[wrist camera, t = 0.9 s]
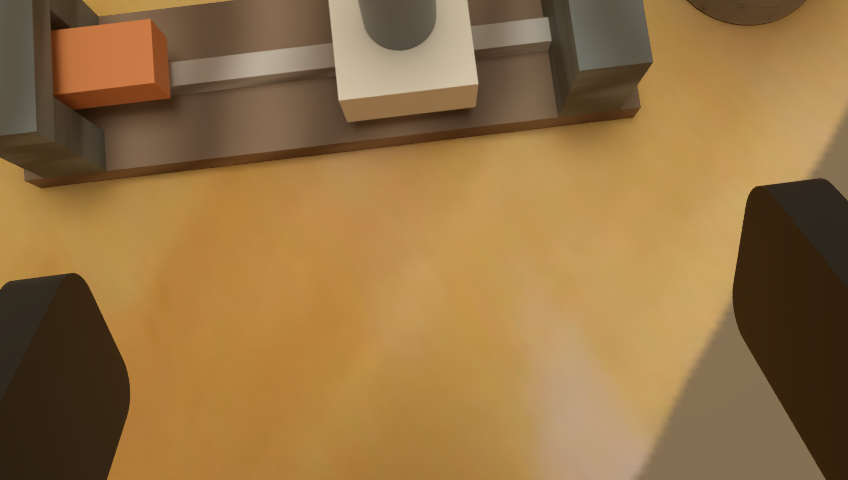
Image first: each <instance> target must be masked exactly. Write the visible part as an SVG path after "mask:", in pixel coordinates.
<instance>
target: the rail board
mask: <svg viewBox="0 0 848 480" xmlns="http://www.w3.org/2000/svg"><path fill="white" fill-rule="evenodd" d="M467 2H468V10H469V17H470V25H471V32H472V40H473V47H474V55H475V62H476V70H477V78H478V91H477V100H476V107H471V108H463V109H455V110H446V111H438V112H430V113H421V114H413V115H404V116H396V117H388V118H379V119H371V120H363V121H354V122H347V120H346V118H345V115H344V113H343V110H342V108H341V105H340V103H339V99H338V89H337V79H336V70H335V60H334V50H333V40H332V30H331V20H330V11H329V1H328V0H233V1H224V2H216V3H208V4H199V5H191V6H183V7H175V8H166V9H158V10H150V11H142V12H133V13H125V14H117V15H108V16H100V17H98V16H97V15H96V14H95V13H94V12H93V11H92V10H91V9H90V8H89V7H88V6H87V5H86V4H85V3H84V2H83V1H82V0H0V158H2V159H4V160H7V161H9V162H11V163H13V164H15V165H17V166H19V167H22V168H24V176H25V181H26V182H29V183H31V184H33V185H35V186H38V187H40V188H43V187H51V186H60V185H68V184H76V183H85V182H93V181H102V180H110V179H118V178H127V177H135V176H144V175H152V174H160V173H169V172H177V171H186V170H194V169H202V168H211V167H219V166H227V165H236V164H244V163H253V162H261V161H269V160H278V159H286V158H295V157H303V156H311V155H320V154H328V153H337V152H345V151H353V150H362V149H370V148H379V147H387V146H395V145H404V144H412V143H421V142H429V141H437V140H446V139H454V138H463V137H471V136H479V135H488V134H496V133H504V132H513V131H521V130H530V129H538V128H546V127H555V126H563V125H572V124H580V123H588V122H597V121H605V120H614V119H622V118H630V117H634V116H635V114H636V113H637V112H638V110H639V109H640V108H641V106H640V100H639V94H638V88H637V85H638V83H639V82H640V80H641V79H642V77H643V76H644V74H645V73H646V72H647V70H648V69H649V67H650V66H651V64H652V63H653V59H652V53H651V47H650V41H649V35H648V29H647V24H646V18H645V12H644V6H643V0H467ZM144 19H151V20H152V21H153V22H154V23H155V24H156V26H157V27H158V28H159V29H160V30H161V32H162V33H163V34H164V35H165V36H166V37H167V52H168V67H169V82H170V98H168V99H160V100H151V101H143V102H135V103H126V104H118V105H110V106H101V107H93V108H85V109H76V110H72V109H71V108H69V107H68V106H66V105H65V104H63V103H62V102H60V101H59V100H57V99H56V98H55V97H53V75H52V51H51V31H53V30H61V29H70V28H78V27H86V26H95V25H103V24H111V23H119V22H128V21H136V20H144Z"/></svg>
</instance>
